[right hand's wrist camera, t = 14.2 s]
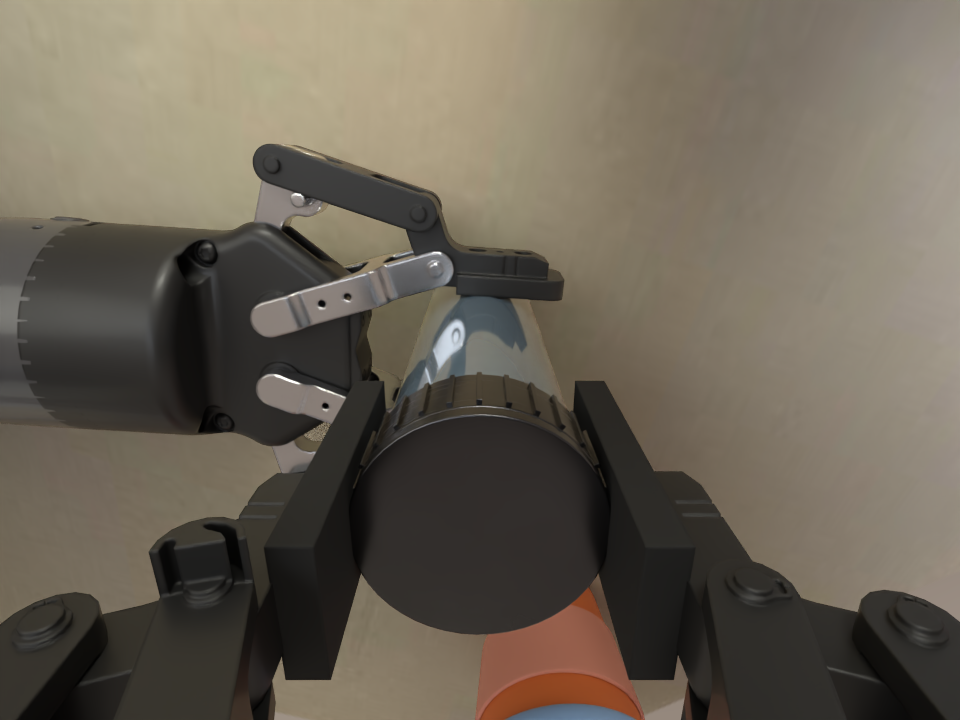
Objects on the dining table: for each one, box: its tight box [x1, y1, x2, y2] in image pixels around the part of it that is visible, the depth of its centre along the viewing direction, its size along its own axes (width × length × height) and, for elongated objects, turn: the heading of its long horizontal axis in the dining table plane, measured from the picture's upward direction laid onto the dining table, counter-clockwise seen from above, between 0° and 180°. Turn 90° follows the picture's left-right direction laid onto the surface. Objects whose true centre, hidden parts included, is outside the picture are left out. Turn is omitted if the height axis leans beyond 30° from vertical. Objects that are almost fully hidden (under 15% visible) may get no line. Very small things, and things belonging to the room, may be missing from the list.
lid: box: [349, 372, 611, 635], centre depth 12 cm, size 5×5×2 cm
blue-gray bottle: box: [392, 286, 567, 410], centre depth 19 cm, size 5×5×16 cm
